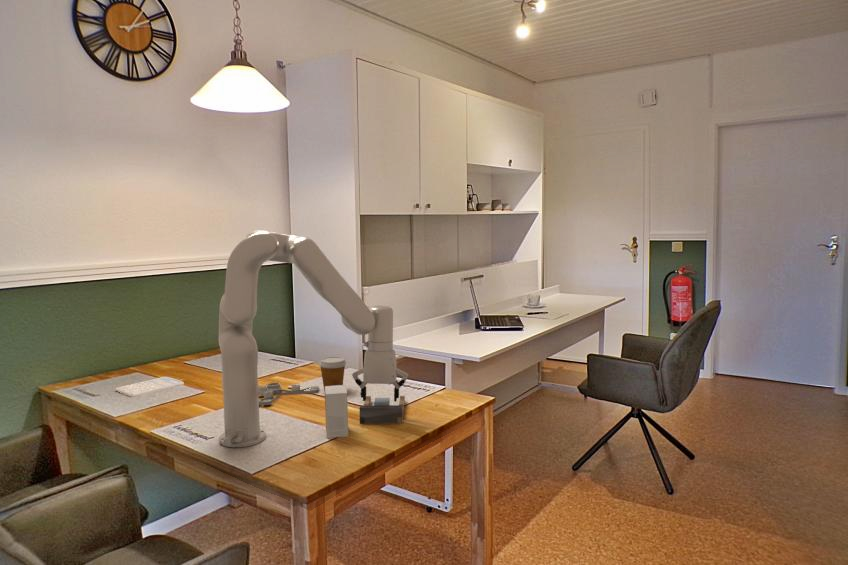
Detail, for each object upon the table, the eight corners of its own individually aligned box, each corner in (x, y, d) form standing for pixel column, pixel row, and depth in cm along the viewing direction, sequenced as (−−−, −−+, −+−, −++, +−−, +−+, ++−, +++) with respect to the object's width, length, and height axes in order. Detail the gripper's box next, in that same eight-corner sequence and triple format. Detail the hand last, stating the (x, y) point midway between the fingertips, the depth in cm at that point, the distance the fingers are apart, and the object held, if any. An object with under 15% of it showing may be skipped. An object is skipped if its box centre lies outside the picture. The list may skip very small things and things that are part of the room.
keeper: (389, 421, 180) (388, 402, 179) (374, 421, 180) (374, 402, 179) (389, 416, 184) (389, 397, 184) (375, 416, 184) (375, 397, 184)
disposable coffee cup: (350, 389, 213) (350, 357, 211) (340, 397, 204) (339, 363, 202) (326, 387, 215) (326, 355, 214) (315, 395, 206) (314, 361, 205)
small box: (325, 428, 174) (324, 385, 173) (346, 426, 175) (345, 384, 174) (326, 438, 166) (325, 394, 165) (348, 436, 167) (347, 392, 166)
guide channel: (402, 423, 178) (402, 407, 177) (359, 423, 178) (359, 407, 177) (404, 401, 199) (404, 387, 198) (366, 401, 199) (366, 387, 198)
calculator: (114, 392, 213) (114, 387, 213) (167, 379, 228) (166, 375, 228) (131, 399, 205) (131, 394, 204) (185, 385, 220) (185, 381, 220)
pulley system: (235, 403, 201) (259, 410, 191) (234, 389, 201) (259, 395, 191) (300, 388, 222) (325, 393, 212) (299, 375, 221) (324, 380, 211)
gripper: (350, 348, 176) (350, 403, 177) (408, 349, 176) (407, 404, 178) (353, 343, 183) (353, 396, 185) (408, 343, 183) (408, 397, 185)
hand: (379, 400), depth 181 cm, fingers open, 9 cm apart
